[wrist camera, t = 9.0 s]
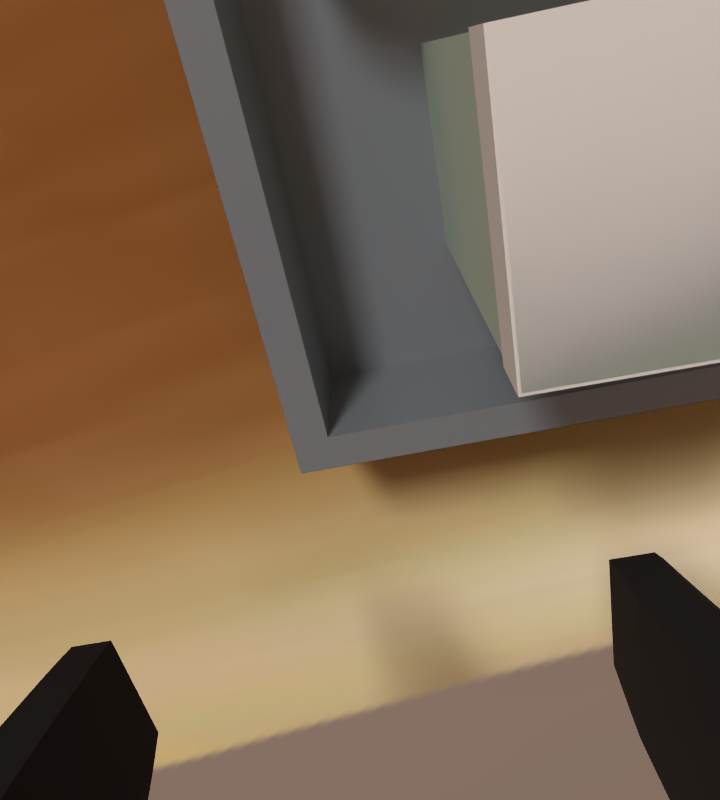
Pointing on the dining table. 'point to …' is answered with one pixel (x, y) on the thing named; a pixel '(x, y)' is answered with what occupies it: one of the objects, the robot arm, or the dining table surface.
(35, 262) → the dining table surface
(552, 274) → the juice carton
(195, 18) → the tote
